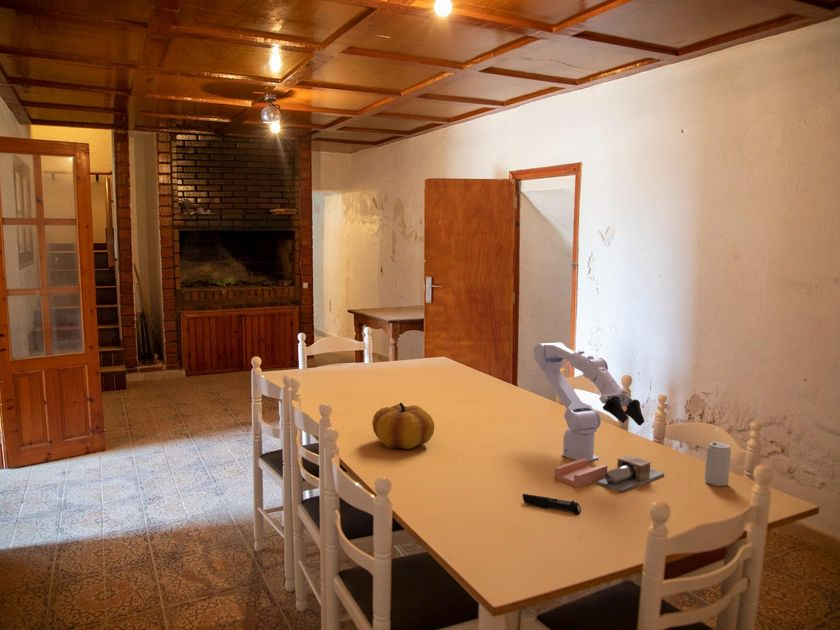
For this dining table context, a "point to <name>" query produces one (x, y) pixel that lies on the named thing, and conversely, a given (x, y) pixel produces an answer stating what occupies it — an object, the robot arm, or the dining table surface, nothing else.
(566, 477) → the cradle
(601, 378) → the robot arm
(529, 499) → the electric trimmer
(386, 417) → the decorative pumpkin
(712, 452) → the beverage can
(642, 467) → the arched stand
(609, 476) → the axle
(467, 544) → the dining table surface
